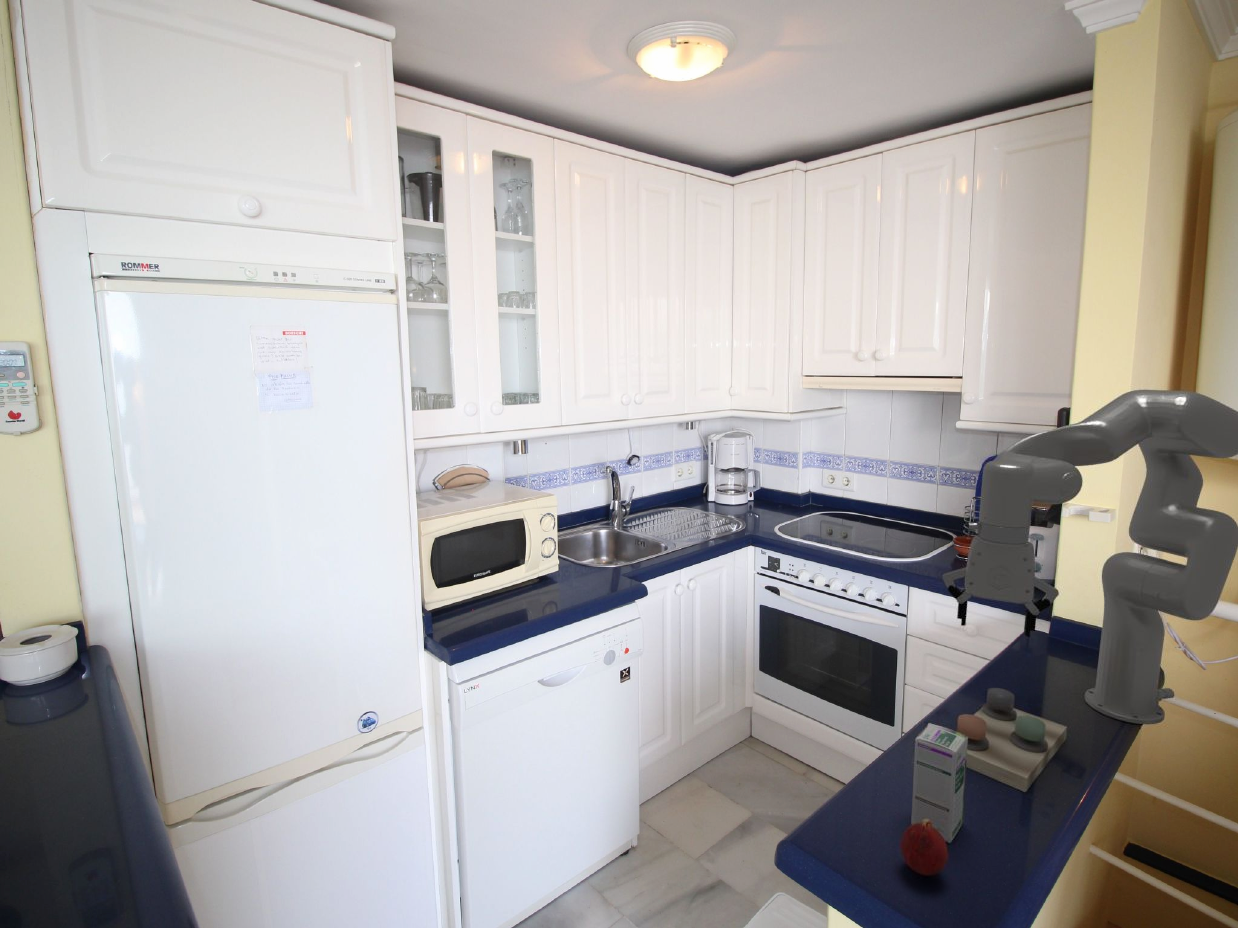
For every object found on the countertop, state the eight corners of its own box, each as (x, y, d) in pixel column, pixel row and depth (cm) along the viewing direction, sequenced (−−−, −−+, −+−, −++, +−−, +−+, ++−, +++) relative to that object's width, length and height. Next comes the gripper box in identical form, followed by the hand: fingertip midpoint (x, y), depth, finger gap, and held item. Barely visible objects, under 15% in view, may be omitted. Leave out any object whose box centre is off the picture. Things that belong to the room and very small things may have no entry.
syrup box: (951, 844, 94) (958, 752, 92) (908, 825, 98) (915, 736, 96) (963, 824, 98) (970, 735, 96) (921, 806, 102) (928, 720, 100)
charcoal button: (991, 695, 127) (992, 685, 126) (1017, 704, 123) (1018, 693, 123) (983, 703, 124) (984, 693, 123) (1008, 713, 121) (1009, 701, 120)
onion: (940, 897, 85) (945, 842, 84) (894, 876, 88) (897, 823, 87) (949, 869, 89) (954, 817, 88) (905, 851, 93) (908, 800, 92)
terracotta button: (962, 722, 117) (963, 711, 117) (989, 732, 114) (990, 721, 114) (953, 731, 115) (953, 720, 114) (979, 742, 111) (980, 730, 111)
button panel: (988, 711, 129) (990, 696, 129) (1065, 739, 120) (1067, 723, 119) (942, 756, 115) (943, 739, 114) (1025, 792, 105) (1027, 774, 105)
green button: (1019, 723, 117) (1020, 712, 117) (1047, 734, 114) (1049, 722, 113) (1011, 733, 114) (1012, 721, 114) (1039, 744, 111) (1040, 732, 110)
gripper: (945, 531, 112) (938, 626, 114) (1066, 545, 104) (1055, 646, 106) (947, 522, 118) (940, 612, 121) (1061, 534, 110) (1051, 630, 113)
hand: (994, 628), depth 114 cm, fingers open, 9 cm apart
